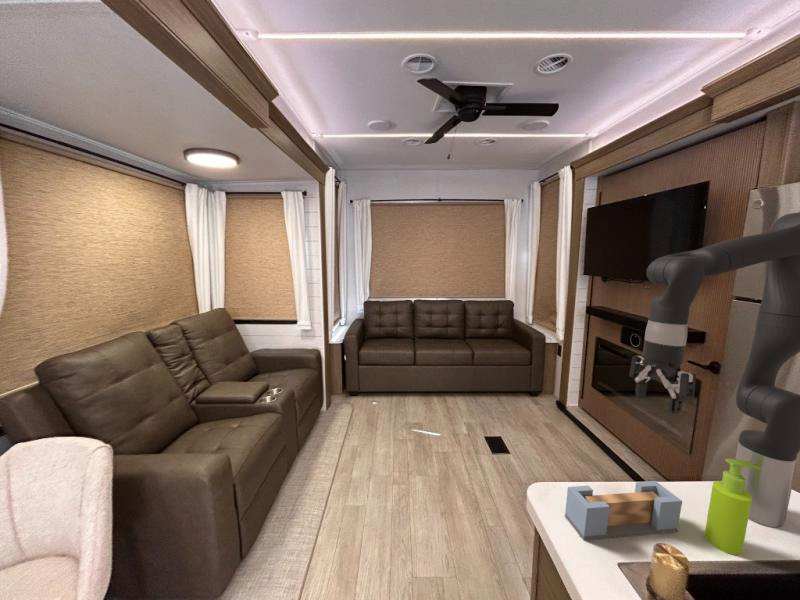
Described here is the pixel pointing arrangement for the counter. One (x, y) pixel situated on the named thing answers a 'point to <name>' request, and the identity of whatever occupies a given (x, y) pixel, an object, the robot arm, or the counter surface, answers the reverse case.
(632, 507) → the slat
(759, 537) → the counter surface
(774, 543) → the counter surface
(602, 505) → the end caps
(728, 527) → the soap dispenser
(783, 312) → the robot arm
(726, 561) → the counter surface
